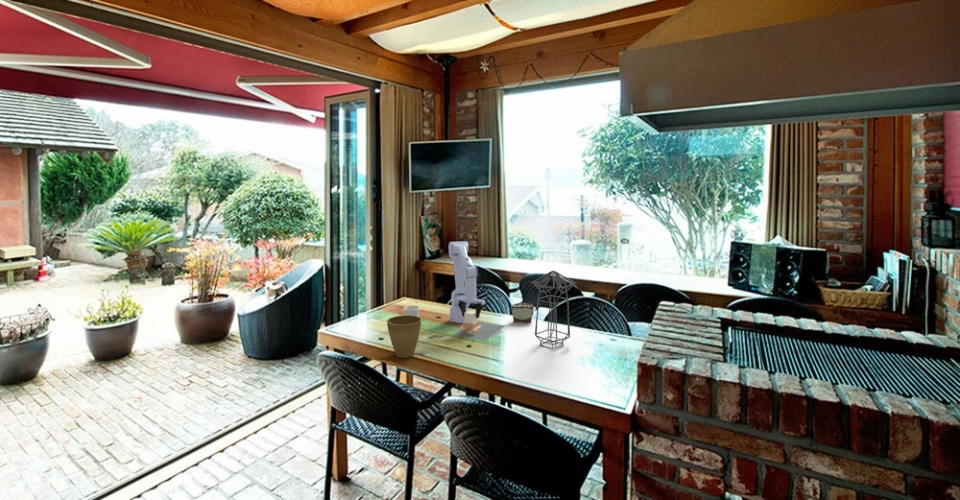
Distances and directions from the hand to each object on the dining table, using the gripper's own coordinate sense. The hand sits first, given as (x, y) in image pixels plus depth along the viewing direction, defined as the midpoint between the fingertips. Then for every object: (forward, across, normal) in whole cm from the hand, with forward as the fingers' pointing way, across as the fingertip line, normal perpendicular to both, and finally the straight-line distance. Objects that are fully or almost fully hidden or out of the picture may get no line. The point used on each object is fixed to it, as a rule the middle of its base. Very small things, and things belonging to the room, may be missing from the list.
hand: (470, 317), depth 221 cm
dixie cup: (+9, -34, -2) cm, 35 cm away
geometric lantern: (+8, +42, 0) cm, 43 cm away
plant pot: (+9, -13, -38) cm, 41 cm away
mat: (+8, +3, +4) cm, 10 cm away
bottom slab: (+8, 0, 0) cm, 8 cm away
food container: (+9, +17, +28) cm, 34 cm away
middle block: (+5, 0, 0) cm, 5 cm away
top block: (+3, 0, 0) cm, 3 cm away
